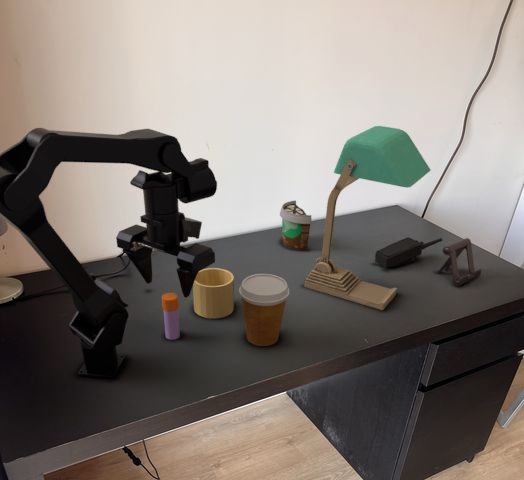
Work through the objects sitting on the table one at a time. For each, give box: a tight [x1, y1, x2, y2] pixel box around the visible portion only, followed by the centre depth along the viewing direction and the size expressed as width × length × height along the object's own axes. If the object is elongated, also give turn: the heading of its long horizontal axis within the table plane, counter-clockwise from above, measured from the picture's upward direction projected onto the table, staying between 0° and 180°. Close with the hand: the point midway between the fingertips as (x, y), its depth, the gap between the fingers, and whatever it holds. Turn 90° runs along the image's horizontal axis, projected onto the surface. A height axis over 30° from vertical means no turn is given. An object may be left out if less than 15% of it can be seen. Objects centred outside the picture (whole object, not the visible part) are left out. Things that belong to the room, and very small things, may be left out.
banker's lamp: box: [304, 125, 431, 311], centre depth 112 cm, size 16×21×35 cm
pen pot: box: [192, 267, 235, 319], centre depth 112 cm, size 9×9×8 cm
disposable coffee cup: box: [238, 273, 290, 347], centre depth 102 cm, size 10×10×12 cm
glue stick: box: [161, 292, 181, 341], centre depth 102 cm, size 3×3×9 cm
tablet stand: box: [437, 237, 482, 287], centre depth 128 cm, size 9×8×8 cm
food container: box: [279, 200, 312, 251], centre depth 140 cm, size 12×6×10 cm, turn 17°
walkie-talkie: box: [374, 237, 443, 269], centre depth 136 cm, size 6×6×20 cm
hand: (167, 289), depth 99 cm, fingers open, 9 cm apart
